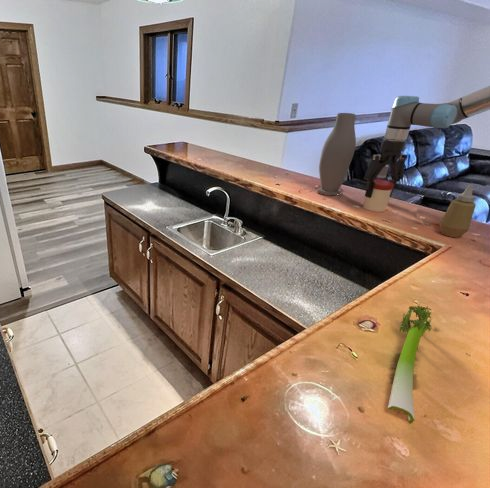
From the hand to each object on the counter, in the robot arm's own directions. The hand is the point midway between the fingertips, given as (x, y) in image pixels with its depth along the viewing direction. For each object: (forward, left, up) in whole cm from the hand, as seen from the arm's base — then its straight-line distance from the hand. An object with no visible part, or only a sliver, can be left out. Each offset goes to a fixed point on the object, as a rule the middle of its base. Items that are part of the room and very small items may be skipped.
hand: (377, 196), depth 143 cm
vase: (+20, -10, -5) cm, 23 cm away
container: (+2, -14, -5) cm, 15 cm away
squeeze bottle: (-26, +14, -5) cm, 29 cm away
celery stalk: (-17, +94, -5) cm, 96 cm away
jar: (0, 0, -5) cm, 5 cm away
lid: (0, 0, +5) cm, 5 cm away
